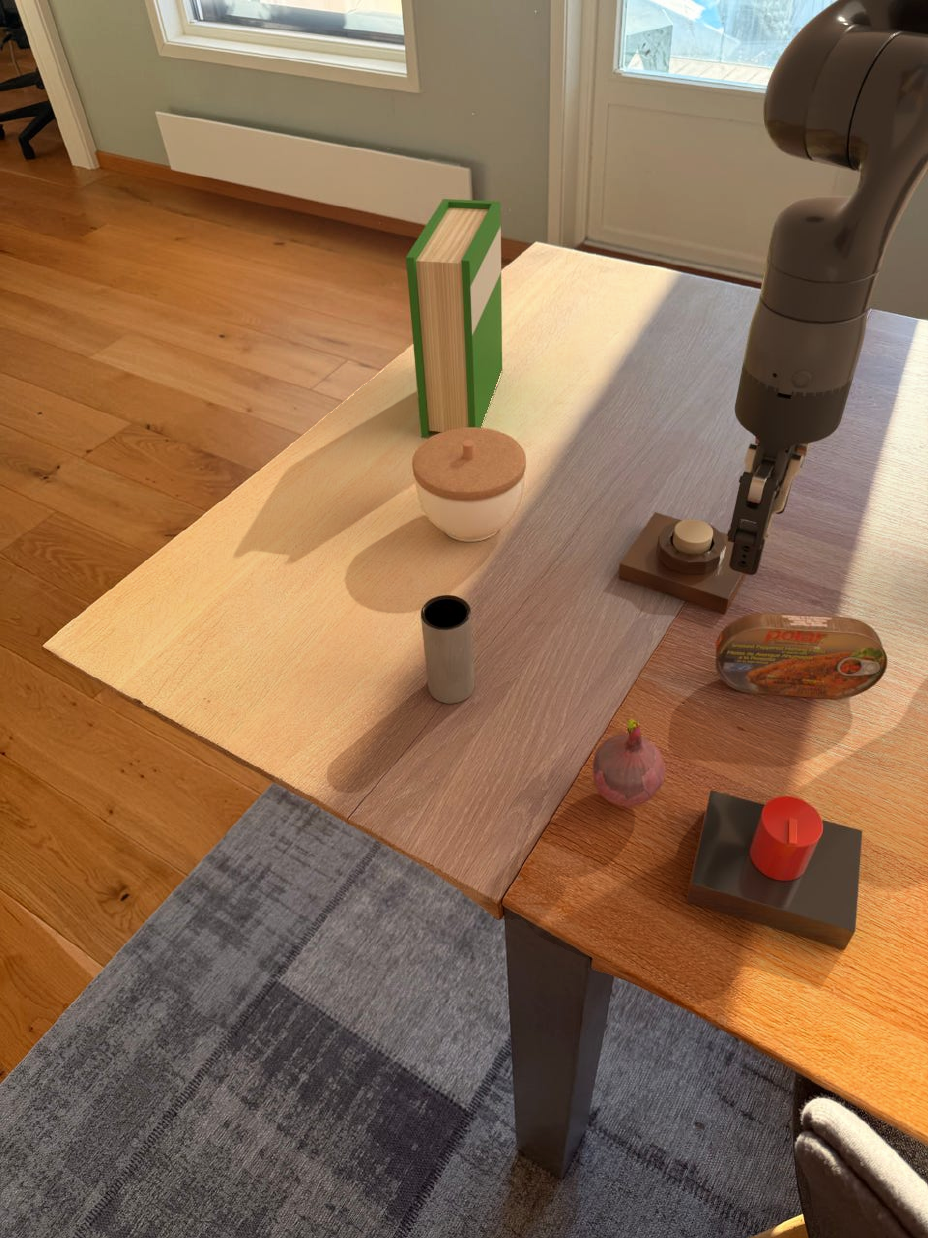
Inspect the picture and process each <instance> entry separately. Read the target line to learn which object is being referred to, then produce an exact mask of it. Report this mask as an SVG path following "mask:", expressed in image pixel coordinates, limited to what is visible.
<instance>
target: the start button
mask: <svg viewBox="0 0 928 1238" xmlns="http://www.w3.org/2000/svg"><path fill="white" fill-rule="evenodd" d="M682 520H683V521H681V522H679V523H678V524H677V525H676V526H675V529H674V535H673V545H674V547H675V548H676V549H677V550H678V551H680V552H683V553H686V554H689V555H699V554H703V553H706V552H707V551H708V550H709V549H710V547H711V542H712V537H713V530H712V528H711V527H710V526H709V525H708V524H709V523H707V522H705V521H703V520H701V519H696V518H695V519H694V518H689V519H682Z"/></svg>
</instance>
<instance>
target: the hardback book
mask: <svg viewBox="0 0 928 1238" xmlns="http://www.w3.org/2000/svg"><path fill="white" fill-rule="evenodd" d="M501 211H502V210H501V201H500V200H499V201H498V200H497V201H495V200H477V199H476V200H474V199H473V200H472V199H453V198H442V200H441V202H440V203H439V204H438V206H437V207H436V209H435V210H434V213H433V214H432V215H431V217H430V219H429V220H428V222H427V223H426V225H425V226H424V228H423V230H422V231H421V233H420V235H419V236H418V237H417V239H416V240H415V242H414V243H413V245H412V247H411V248H410V250H409V252H408V253H407V255H406V256H405V263H406V274H407V275H406V276H407V285H408V286H407V287H408V297H409V298H408V299H409V309H410V311H409V312H410V321H411V333H412V334H411V335H412V342H413V343H412V344H413V346H412V347H413V357H414V367H415V368H414V369H415V377H416V378H415V379H416V381H415V382H416V390H417V392H416V393H417V404H418V405H417V406H418V414H419V416H418V417H419V427H420V438H426V437H428V438H430V434H431V432H438V433H441V432H444V431H448V430H452V429H457V428H465V427H477V428H481V426H482V427H483V425H482V423H483V420H484V417H485V414H486V413H487V414H488V412H487V410H488V407H489V404H490V401H491V398H492V396H493V393H494V390H495V387H496V384H497V382H498V379H499V376H500V373H501V371H502V372H503V315H502V314H503V313H502V312H503V310H502V309H503V308H502V307H503V305H502V230H501V229H502V225H501V223H502V221H501V220H502V219H501V215H502V213H501ZM490 405H491V404H490ZM489 408H490V407H489ZM488 411H489V410H488ZM485 418H486V417H485ZM484 421H485V420H484ZM483 424H484V423H483Z"/></svg>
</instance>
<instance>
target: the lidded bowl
mask: <svg viewBox="0 0 928 1238" xmlns="http://www.w3.org/2000/svg"><path fill="white" fill-rule="evenodd" d="M411 465H412V473H413V476H414V482H415V488H416V489H415V490H416V494H417V499H418V501H419V503H420V506H421V508H422V511H423V513H424V514H425V516H426V518H427V519H428V520H429V521H430V522H431V524H433V525H434V527H436V528H437V529H438V530H440V531H441V532H442V533H445V534H446V535H447V536H448V537H450V538H452V539H453V540H455V541H459V542H466V543H475V542H482V541H484V540H488V539H490V538H492V537H493V536H495V535H496V534H497V533H498V532H500V530H502V529H503V528H504V527H506V526H507V525H508V524H509V523H510V521H511V520H512V519H513V518H514V517H515V515H516V513H517V512H518V509H519V507H520V504H521V500H522V498H523V494H524V487H525V472H526V469H527V468H526V467H527V456H526V453H525V449H524V448H523V447H522V445H521V444H520V443H519V442H518V441H517V440H515V438H513V437H512V436H510V435H508V434H506V433H504V432H501V431H499V430H495V429H492V428H488V427H487V428H485V427H482V428H477V427H465V428H457V429H452V430H448V431H444V432H438V433H436V434H434V435H432V436H430V437H428V438H427V439H426V440H424V441H423V442H422V443H421V444H420V445H419V446H418V447H417V449H416V450H415V451H414V454H413V456H412V460H411Z"/></svg>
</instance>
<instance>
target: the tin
mask: <svg viewBox="0 0 928 1238" xmlns="http://www.w3.org/2000/svg"><path fill="white" fill-rule="evenodd" d="M887 668H888V655H887V652H886V651H885V649H884V646H883V644H882V641H881V638H880V636H879V635H878V633H877V631H876V630H875V629H874V628H873V627H872V626H870V625H869V624H868V623H866V622H864V621H862V620H860V619H856V618H852V617H846V616H832V615H831V616H828V615H813V614H791V613H790V614H789V613H775V612H773V613H772V612H756V613H751V614H746V615H743V616H741V617H738V618H737V619H735V620H733V621H731V622H730V623H729V624H728V625H726V626H725V627H724V628H723V629H722V630H721V631H720V633H719V635H718V637H717V640H716V642H715V670H716V672H717V675H718V676H719V678H720V680H722V682H723V683H725V684H726V685H727V686H728V687H731V688H732V689H734V690H735V691H738V692H742V693H746V694H750V695H766V696H780V697H781V696H782V697H797V698H799V697H800V698H809V699H823V700H824V699H825V700H840V699H846V698H847V699H848V698H851V697H855V696H858V695H859V694H863V693H864V692H866V691H868V690H870V689H871V688H872V687H874V686H875V685H876V684H877V683H879V681H880V680H881V679H882V678H883V676H884V675H885V673H886V670H887Z"/></svg>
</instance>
